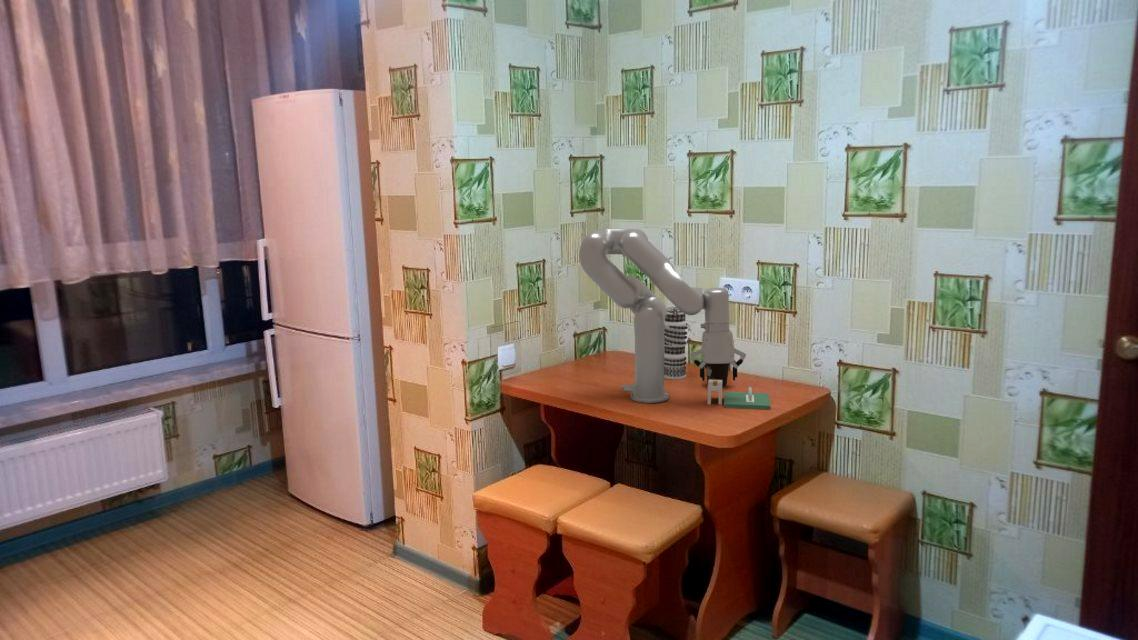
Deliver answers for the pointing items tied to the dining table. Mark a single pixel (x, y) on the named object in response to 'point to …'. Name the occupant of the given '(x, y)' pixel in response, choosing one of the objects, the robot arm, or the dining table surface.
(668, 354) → the decorative candle
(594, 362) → the dining table surface
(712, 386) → the white box
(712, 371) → the coffee mug
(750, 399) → the board
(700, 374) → the robot arm
